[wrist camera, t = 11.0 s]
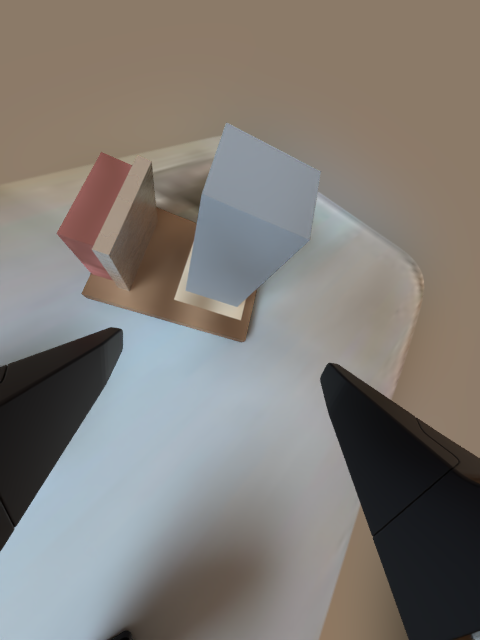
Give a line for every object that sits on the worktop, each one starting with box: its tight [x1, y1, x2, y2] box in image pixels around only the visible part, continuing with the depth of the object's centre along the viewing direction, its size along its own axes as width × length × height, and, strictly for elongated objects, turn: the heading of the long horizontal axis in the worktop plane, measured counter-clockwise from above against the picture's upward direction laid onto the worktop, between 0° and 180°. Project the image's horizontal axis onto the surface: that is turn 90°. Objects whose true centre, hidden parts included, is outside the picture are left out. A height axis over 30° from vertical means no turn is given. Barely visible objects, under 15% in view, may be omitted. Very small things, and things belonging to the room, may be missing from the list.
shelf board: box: [57, 152, 257, 342], centre depth 20 cm, size 16×11×8 cm
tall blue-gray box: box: [185, 123, 321, 307], centre depth 17 cm, size 4×6×13 cm
